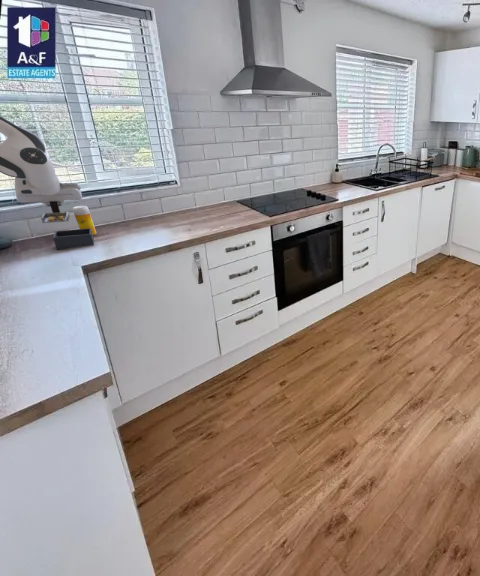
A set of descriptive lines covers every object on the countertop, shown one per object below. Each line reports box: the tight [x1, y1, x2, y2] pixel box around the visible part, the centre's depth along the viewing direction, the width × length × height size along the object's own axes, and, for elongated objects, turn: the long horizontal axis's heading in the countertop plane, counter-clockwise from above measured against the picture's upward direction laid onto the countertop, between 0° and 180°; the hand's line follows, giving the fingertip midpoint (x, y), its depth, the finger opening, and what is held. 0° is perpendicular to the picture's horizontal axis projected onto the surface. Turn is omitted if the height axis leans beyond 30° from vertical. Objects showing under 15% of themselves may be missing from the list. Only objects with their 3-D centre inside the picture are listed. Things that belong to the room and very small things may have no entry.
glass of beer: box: [72, 205, 97, 236], centre depth 183 cm, size 6×6×15 cm
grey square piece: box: [41, 201, 71, 224], centre depth 151 cm, size 13×8×9 cm, turn 36°
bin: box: [52, 228, 95, 251], centre depth 169 cm, size 13×13×6 cm
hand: (54, 204), depth 155 cm, fingers closed on grey square piece, 2 cm apart
